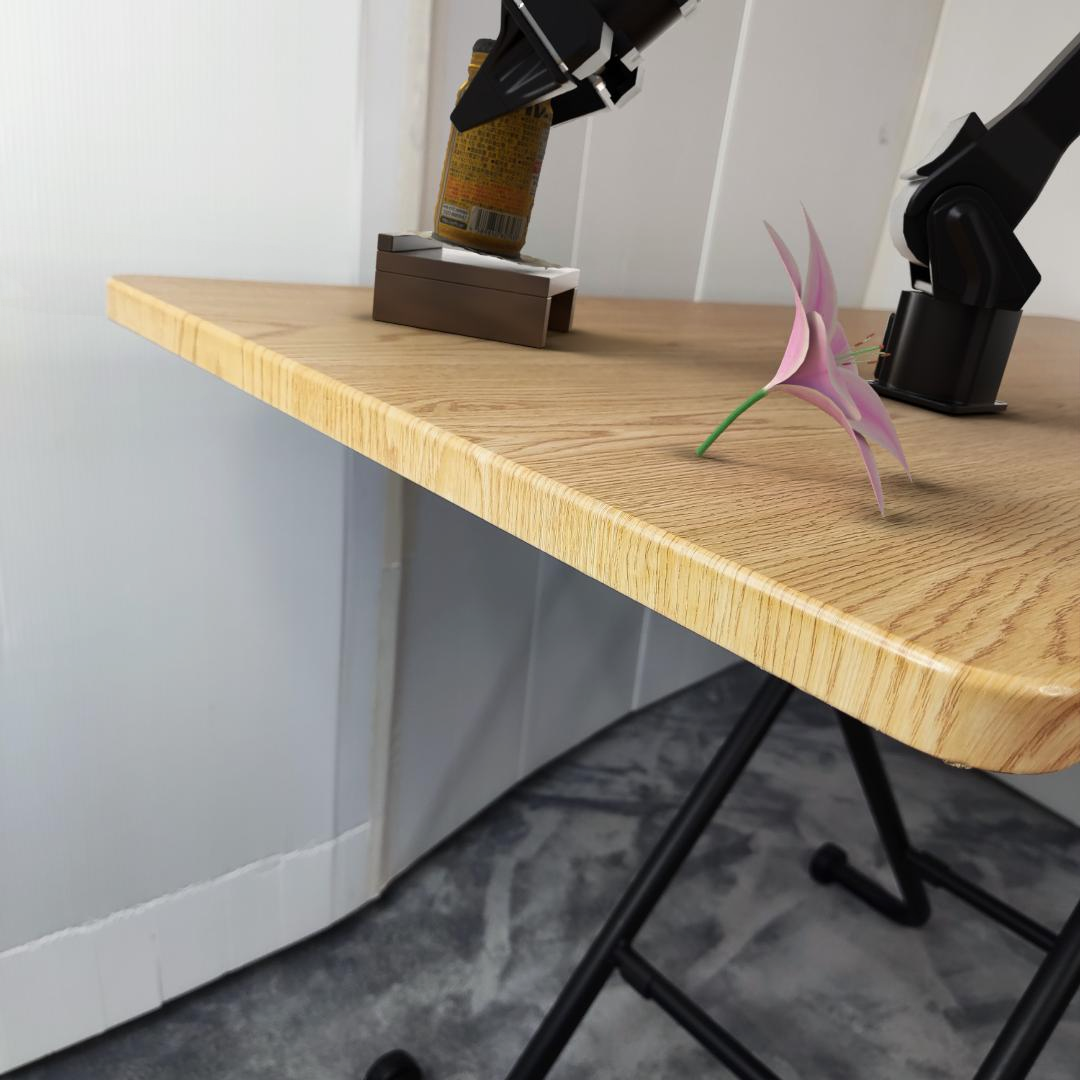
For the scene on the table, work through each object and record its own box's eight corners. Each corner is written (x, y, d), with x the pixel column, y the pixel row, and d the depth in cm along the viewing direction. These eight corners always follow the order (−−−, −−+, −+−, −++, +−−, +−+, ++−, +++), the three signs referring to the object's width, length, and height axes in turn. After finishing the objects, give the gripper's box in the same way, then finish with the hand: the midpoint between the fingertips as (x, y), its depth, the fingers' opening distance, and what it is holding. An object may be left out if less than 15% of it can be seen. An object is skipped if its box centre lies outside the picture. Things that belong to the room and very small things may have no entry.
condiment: (463, 239, 66) (500, 51, 62) (567, 271, 63) (614, 75, 58) (399, 233, 60) (436, 23, 55) (512, 268, 56) (560, 48, 52)
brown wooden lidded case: (571, 330, 67) (582, 254, 65) (540, 348, 58) (552, 260, 56) (424, 305, 69) (431, 231, 67) (371, 319, 59) (377, 233, 58)
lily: (738, 563, 30) (973, 320, 26) (554, 346, 36) (723, 126, 33) (878, 599, 39) (1067, 422, 35) (712, 420, 45) (857, 255, 42)
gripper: (624, -124, 61) (445, 45, 67) (569, -258, 44) (334, -14, 50) (721, 25, 63) (538, 179, 68) (705, -48, 46) (462, 166, 51)
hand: (477, 132), depth 59 cm, fingers open, 9 cm apart
